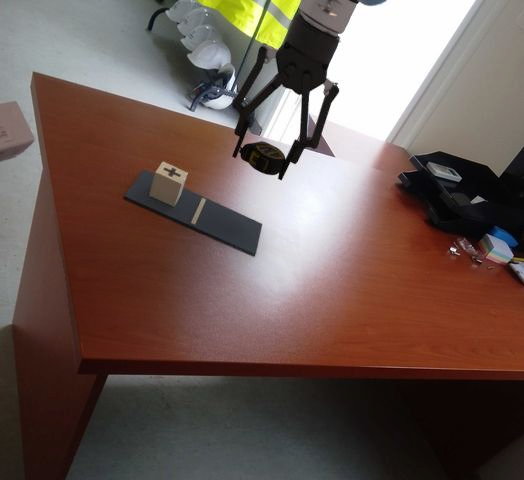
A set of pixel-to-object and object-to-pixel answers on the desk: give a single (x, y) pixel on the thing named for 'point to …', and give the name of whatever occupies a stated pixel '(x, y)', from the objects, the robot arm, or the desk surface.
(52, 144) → the desk surface
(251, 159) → the tape measure
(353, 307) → the desk surface
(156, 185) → the plus sign block
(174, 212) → the mat
